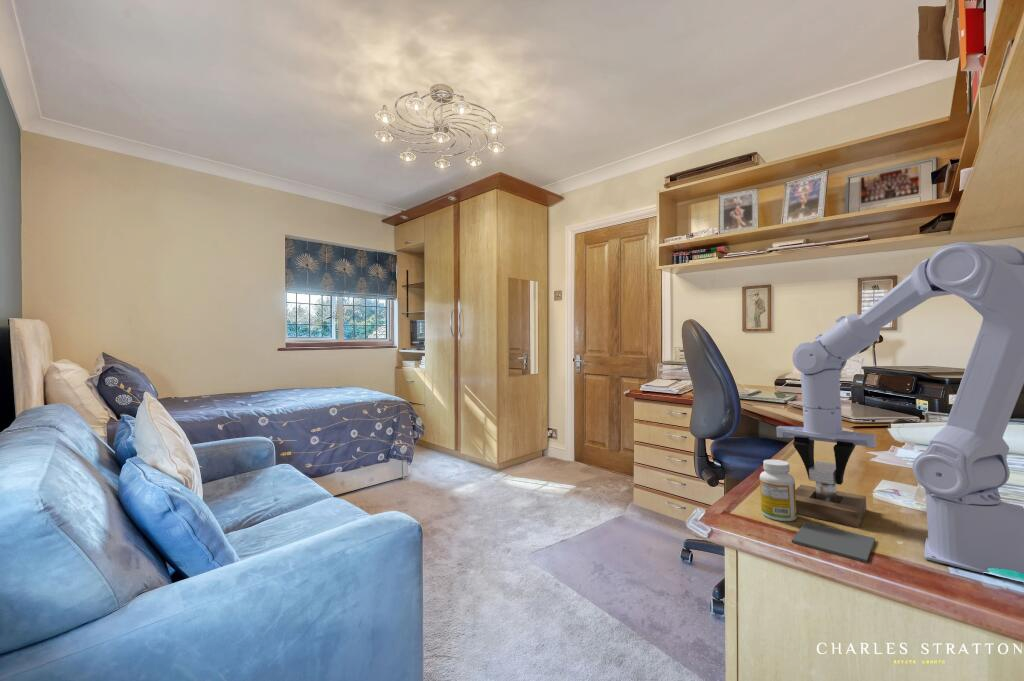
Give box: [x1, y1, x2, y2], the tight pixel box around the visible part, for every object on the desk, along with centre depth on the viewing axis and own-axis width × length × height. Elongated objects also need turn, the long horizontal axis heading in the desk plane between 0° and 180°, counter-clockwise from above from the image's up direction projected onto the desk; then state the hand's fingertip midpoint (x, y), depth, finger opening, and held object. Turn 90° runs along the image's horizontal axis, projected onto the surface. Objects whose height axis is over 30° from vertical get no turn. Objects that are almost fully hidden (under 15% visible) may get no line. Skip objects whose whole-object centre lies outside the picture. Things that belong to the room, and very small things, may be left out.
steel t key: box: [808, 460, 837, 503], centre depth 76 cm, size 7×4×6 cm, turn 133°
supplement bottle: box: [759, 458, 798, 522], centre depth 74 cm, size 5×5×10 cm
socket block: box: [795, 484, 867, 528], centre depth 76 cm, size 10×10×2 cm
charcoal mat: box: [791, 521, 876, 563], centre depth 64 cm, size 9×9×1 cm
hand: (825, 480), depth 76 cm, fingers closed on steel t key, 3 cm apart
